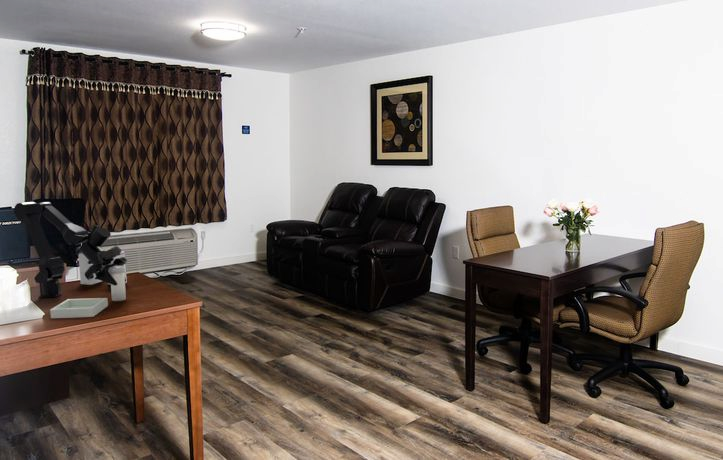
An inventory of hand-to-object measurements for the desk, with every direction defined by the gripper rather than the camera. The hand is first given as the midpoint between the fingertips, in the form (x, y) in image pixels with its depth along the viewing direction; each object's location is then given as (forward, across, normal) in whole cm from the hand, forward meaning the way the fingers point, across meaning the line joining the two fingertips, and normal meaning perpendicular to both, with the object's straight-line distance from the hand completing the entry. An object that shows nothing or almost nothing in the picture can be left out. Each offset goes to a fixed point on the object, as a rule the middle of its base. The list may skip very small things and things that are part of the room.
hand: (121, 283), depth 205 cm
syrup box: (-9, +24, +19) cm, 31 cm away
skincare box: (-18, +24, +28) cm, 41 cm away
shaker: (+4, 0, +6) cm, 7 cm away
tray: (+2, -18, +8) cm, 19 cm away
